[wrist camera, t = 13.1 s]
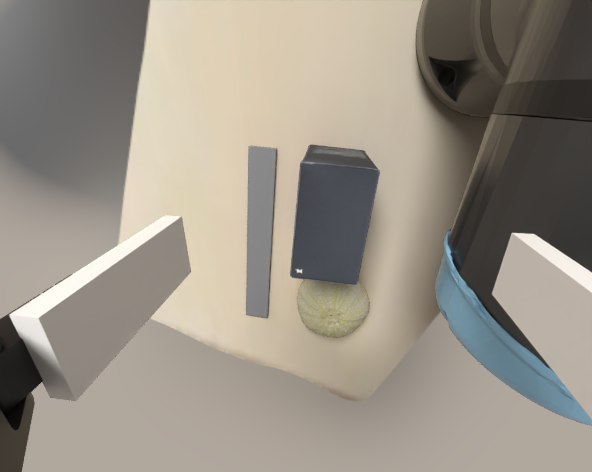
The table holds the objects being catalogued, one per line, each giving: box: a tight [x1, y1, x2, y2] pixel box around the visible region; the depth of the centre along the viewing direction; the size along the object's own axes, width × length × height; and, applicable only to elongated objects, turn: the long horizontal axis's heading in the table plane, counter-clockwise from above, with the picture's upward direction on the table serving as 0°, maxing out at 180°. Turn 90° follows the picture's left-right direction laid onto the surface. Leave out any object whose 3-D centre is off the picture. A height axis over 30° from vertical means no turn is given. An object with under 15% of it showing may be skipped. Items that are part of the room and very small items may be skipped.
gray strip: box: [246, 146, 277, 318], centre depth 37 cm, size 3×23×1 cm, turn 175°
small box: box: [290, 145, 380, 285], centre depth 29 cm, size 11×6×10 cm, turn 175°
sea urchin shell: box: [297, 279, 370, 338], centre depth 37 cm, size 9×8×8 cm
